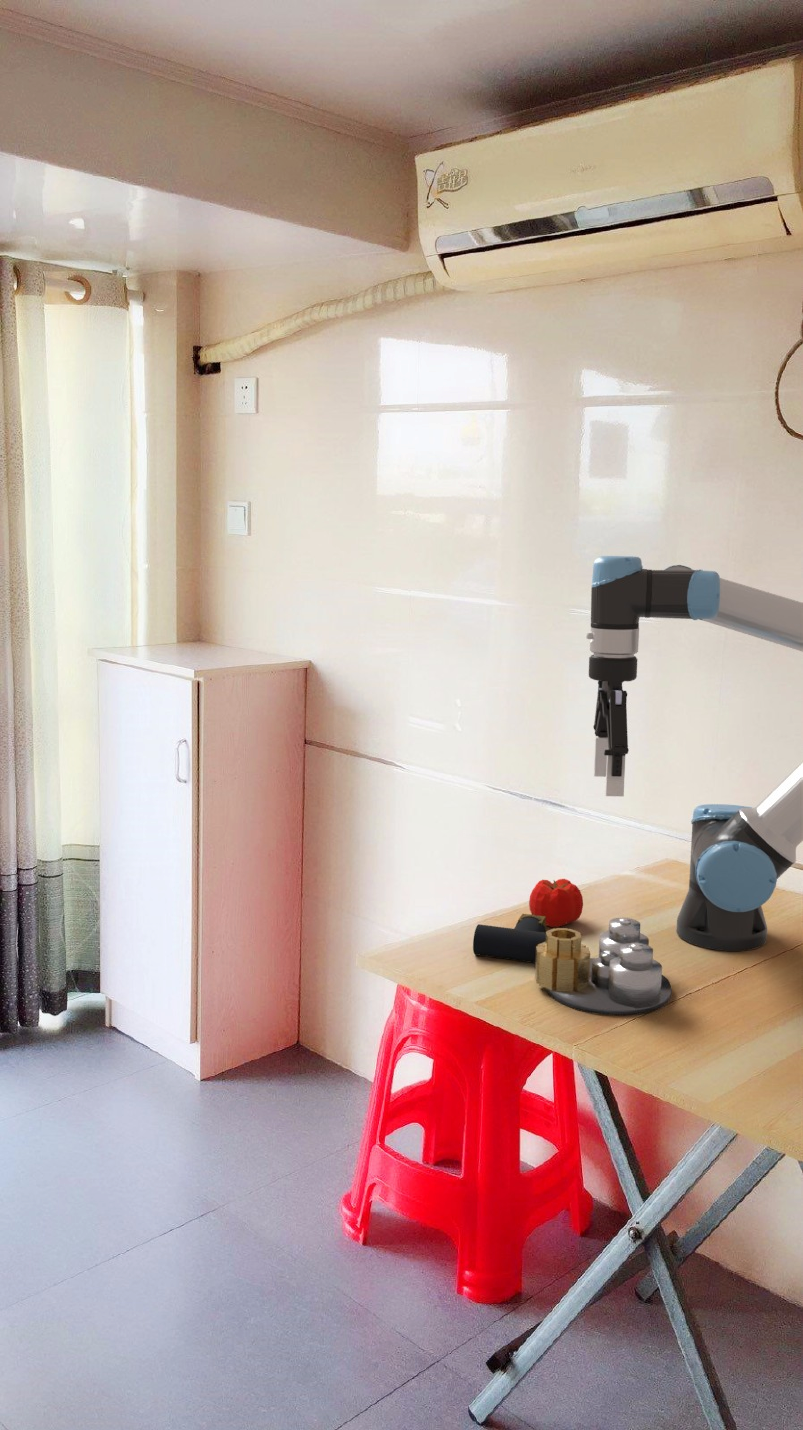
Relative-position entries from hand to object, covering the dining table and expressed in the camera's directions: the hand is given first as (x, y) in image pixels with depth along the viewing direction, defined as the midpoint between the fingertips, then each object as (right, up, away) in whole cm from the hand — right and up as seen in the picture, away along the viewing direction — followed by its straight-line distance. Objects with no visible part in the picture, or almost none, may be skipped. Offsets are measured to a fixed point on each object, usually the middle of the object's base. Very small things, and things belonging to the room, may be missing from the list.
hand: (608, 785), depth 187 cm
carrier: (-2, -31, -9) cm, 32 cm away
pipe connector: (-13, -28, +7) cm, 32 cm away
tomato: (-6, -26, +20) cm, 33 cm away
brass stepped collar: (-9, -29, -9) cm, 32 cm away
